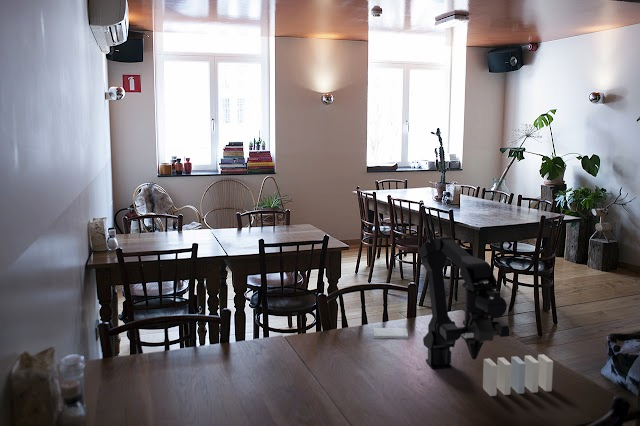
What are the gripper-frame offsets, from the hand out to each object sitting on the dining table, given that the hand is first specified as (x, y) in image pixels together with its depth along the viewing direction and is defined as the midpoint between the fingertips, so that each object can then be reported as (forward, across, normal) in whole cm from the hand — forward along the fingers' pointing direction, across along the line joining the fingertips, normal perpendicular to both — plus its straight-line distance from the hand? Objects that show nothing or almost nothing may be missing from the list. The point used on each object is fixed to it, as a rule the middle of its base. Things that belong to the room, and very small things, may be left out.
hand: (473, 358), depth 158 cm
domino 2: (+10, +9, 0) cm, 14 cm away
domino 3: (+10, +14, 0) cm, 17 cm away
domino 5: (+10, +22, 0) cm, 24 cm away
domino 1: (+10, +5, 0) cm, 11 cm away
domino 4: (+10, +18, 0) cm, 20 cm away
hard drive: (+11, -11, +48) cm, 51 cm away
